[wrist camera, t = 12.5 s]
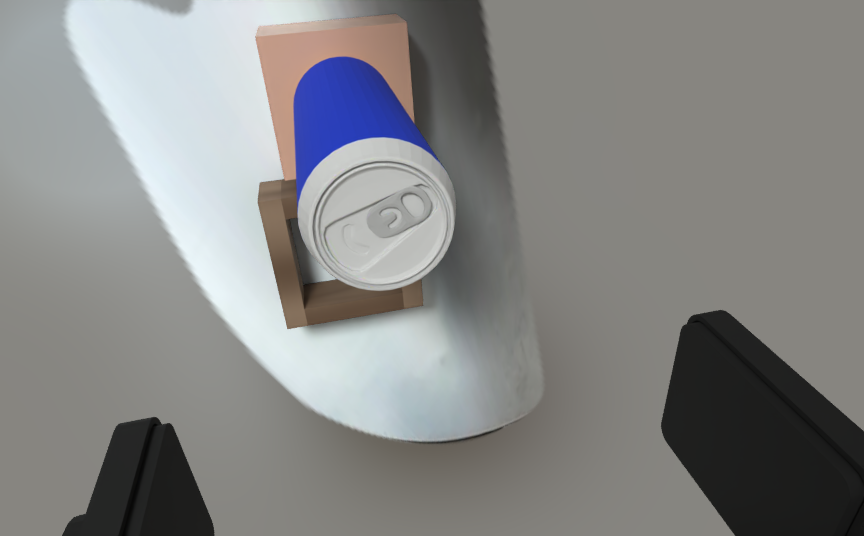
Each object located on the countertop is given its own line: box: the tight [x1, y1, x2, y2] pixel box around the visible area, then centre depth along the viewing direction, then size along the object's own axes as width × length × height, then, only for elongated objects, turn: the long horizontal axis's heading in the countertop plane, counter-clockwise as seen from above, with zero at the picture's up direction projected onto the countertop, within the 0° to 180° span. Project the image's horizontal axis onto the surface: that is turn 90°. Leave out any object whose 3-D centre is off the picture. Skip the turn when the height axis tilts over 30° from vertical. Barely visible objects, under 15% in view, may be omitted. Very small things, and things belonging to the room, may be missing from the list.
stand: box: [255, 14, 415, 181], centre depth 32 cm, size 8×8×4 cm
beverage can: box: [293, 56, 456, 291], centre depth 24 cm, size 5×5×15 cm
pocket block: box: [258, 179, 423, 329], centre depth 37 cm, size 9×9×3 cm
